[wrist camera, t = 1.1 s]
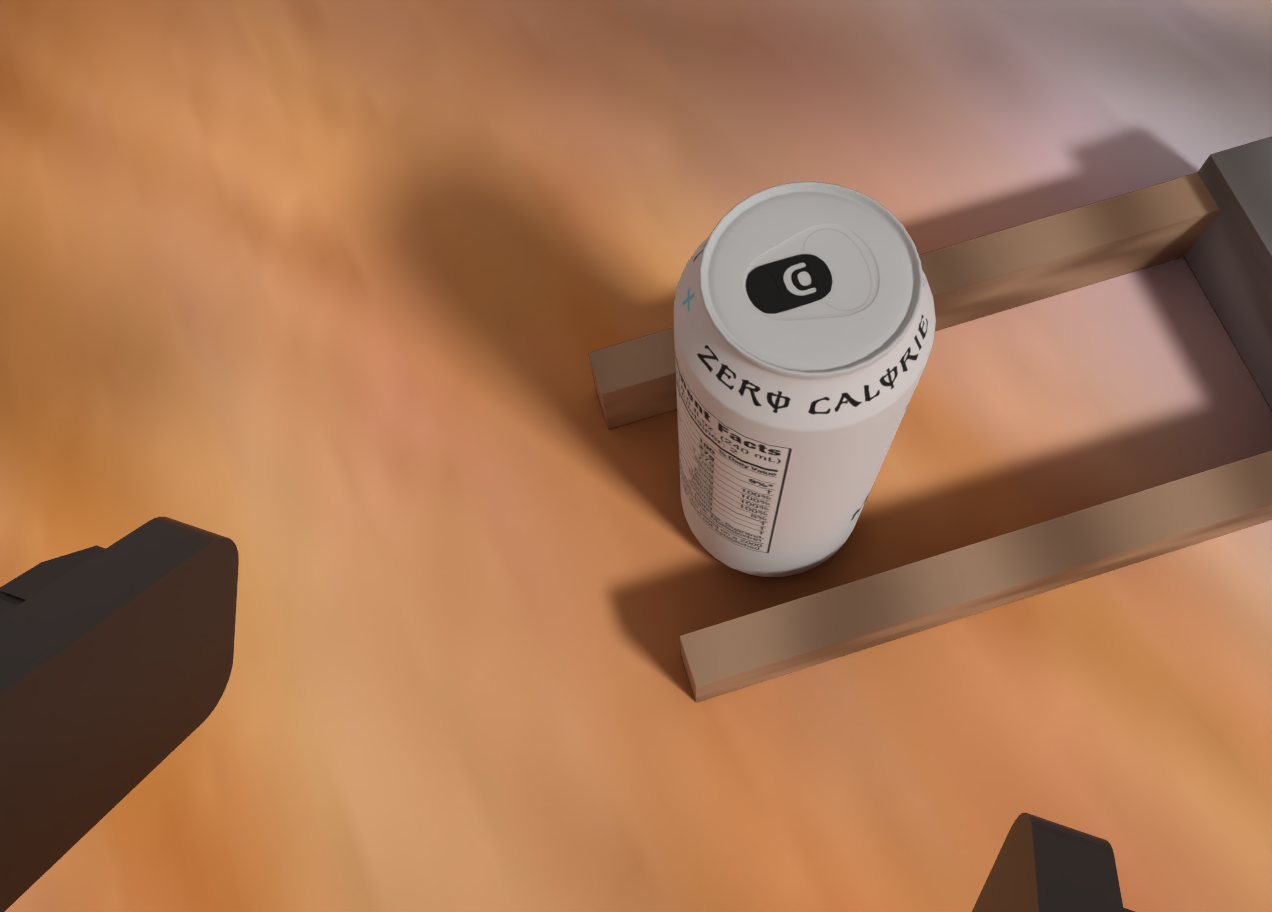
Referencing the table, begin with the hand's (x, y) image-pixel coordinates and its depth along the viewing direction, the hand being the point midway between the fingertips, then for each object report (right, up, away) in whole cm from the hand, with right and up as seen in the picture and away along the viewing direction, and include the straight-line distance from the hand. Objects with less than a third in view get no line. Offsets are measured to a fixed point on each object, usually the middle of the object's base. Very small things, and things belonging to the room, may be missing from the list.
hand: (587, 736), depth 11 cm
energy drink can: (+5, +1, +27) cm, 28 cm away
